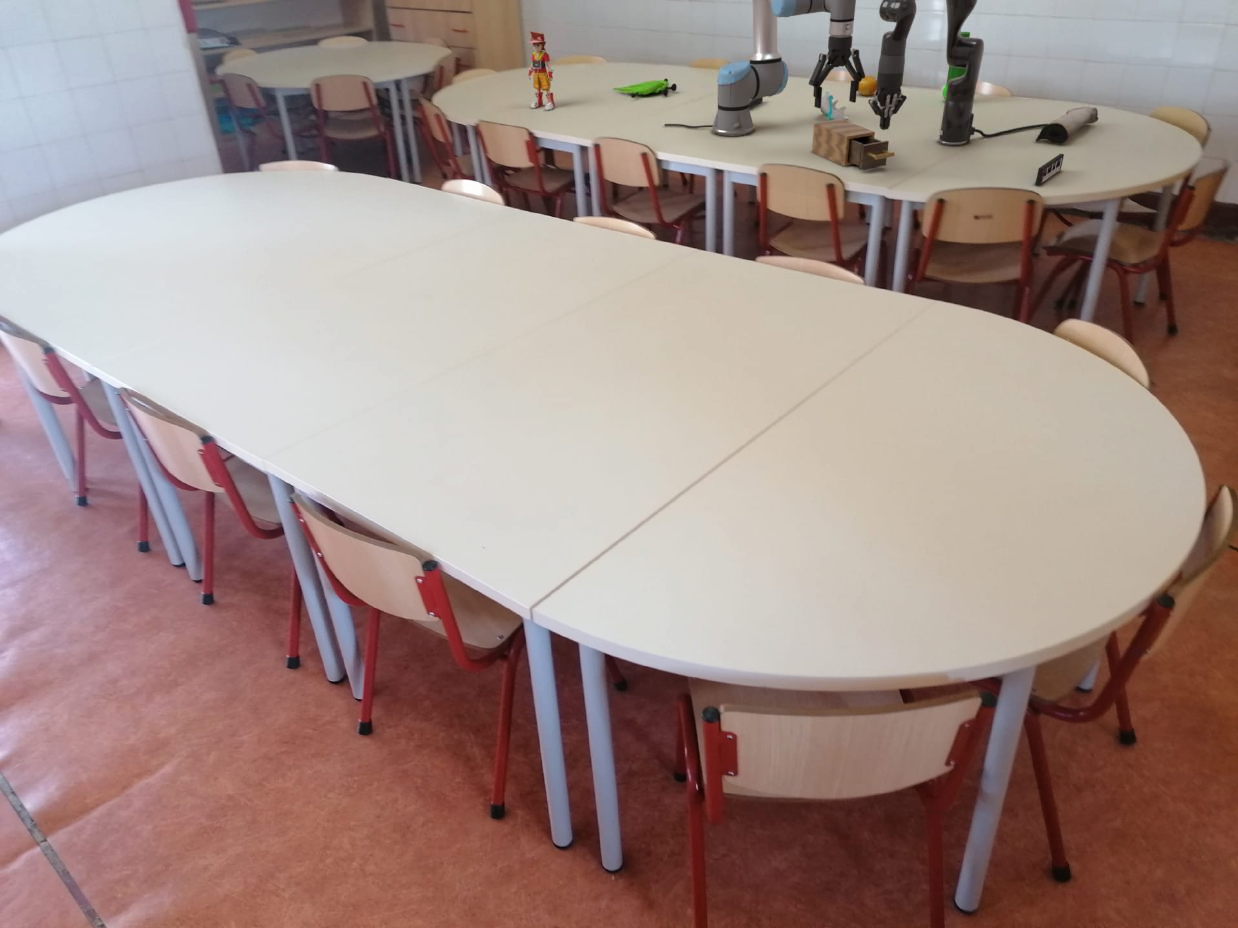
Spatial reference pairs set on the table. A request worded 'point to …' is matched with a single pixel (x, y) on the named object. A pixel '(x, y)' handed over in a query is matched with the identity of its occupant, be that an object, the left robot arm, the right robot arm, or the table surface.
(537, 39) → the toy
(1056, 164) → the midi keyboard
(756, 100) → the disk drive
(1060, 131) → the rolled mat
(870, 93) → the fruit
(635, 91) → the toy
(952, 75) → the plastic bottle
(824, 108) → the anatomical model
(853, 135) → the cabinet
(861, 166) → the drawer
